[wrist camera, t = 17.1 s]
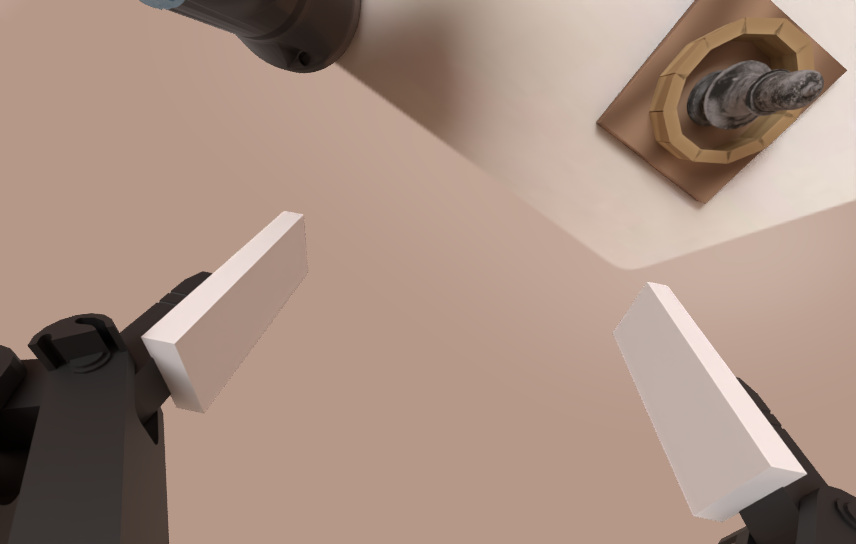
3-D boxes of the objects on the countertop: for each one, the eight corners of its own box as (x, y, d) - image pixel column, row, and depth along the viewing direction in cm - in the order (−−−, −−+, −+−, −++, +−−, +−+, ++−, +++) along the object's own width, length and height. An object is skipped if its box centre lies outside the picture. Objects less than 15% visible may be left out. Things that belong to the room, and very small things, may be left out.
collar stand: (596, 122, 39) (610, 122, 35) (719, -30, 33) (754, -52, 28) (697, 200, 41) (722, 209, 37) (832, 72, 35) (880, 65, 30)
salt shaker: (744, 121, 36) (861, 120, 25) (682, 135, 37) (768, 140, 26) (750, 58, 34) (881, 27, 23) (684, 75, 35) (778, 54, 24)
